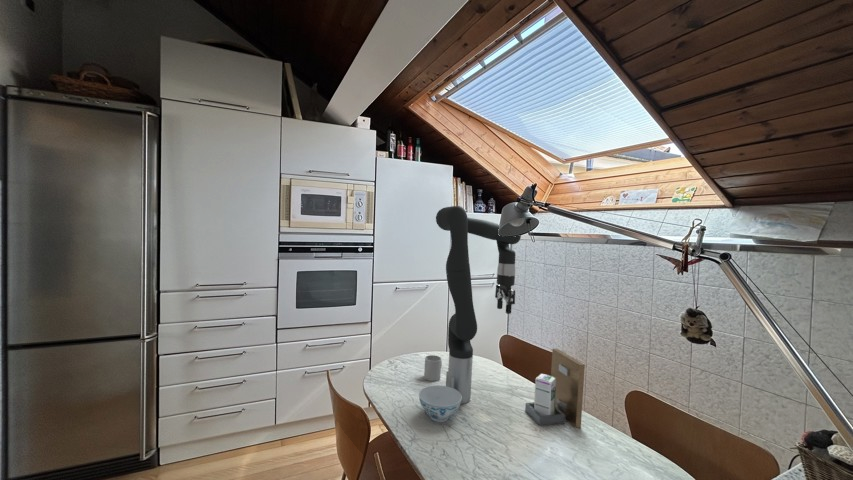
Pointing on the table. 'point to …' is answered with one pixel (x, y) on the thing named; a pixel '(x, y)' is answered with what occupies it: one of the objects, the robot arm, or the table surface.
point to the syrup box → (545, 395)
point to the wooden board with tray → (564, 392)
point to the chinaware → (440, 402)
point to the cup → (432, 368)
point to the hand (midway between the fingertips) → (503, 311)
